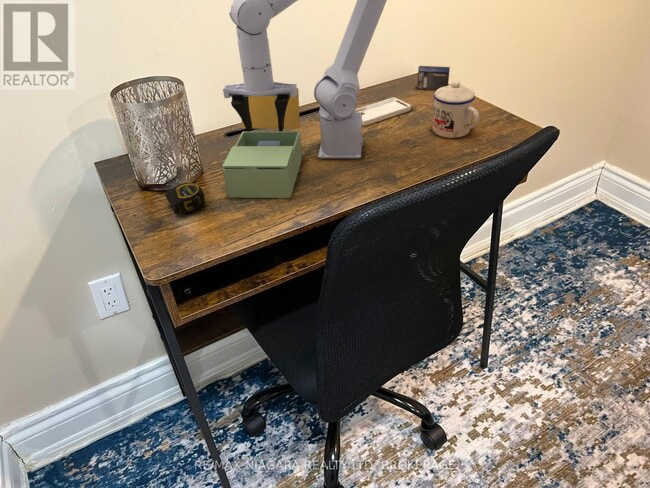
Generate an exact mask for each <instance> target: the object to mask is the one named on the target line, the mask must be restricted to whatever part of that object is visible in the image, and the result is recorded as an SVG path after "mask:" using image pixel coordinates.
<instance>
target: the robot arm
mask: <svg viewBox="0 0 650 488" xmlns="http://www.w3.org/2000/svg"><path fill="white" fill-rule="evenodd" d="M298 1H299V0H233V1H232V4H231V5H230V11H229V17H230V20H231V21H232V22H233V24H235V29H236V36H237V46H238V47H237V48H238V52H239V59H240V66H241V71H242V72H241V73H242V78H243V83H236V84H235V83H234V84H228V85H227V84H226V85H224V86H223V88H222V93H223V98H224V99H230V98H231V101H230V105H231V107H232V108H233V109H234V110H235V112H236V113H237V115H238V116H239V117H240V120H241V122H242V121H243V123H244V125H245V128H246V129H245V131H247V132H250V131H252V129H253V128H252V121H251V116H250V111H249V98H248V97H249V96H277V98H276V100H275V102H274V103H275V107H276V111H277V116H278V128H277V129H278V131H279V132H282V131H284V129H285V128H284V118H285V113H286V108H287V105H288V101H289V98H290V96H291V97H296V95H297V88H298V87H297V86H298V85H297V83H286V82H277V81H274V76H273V75H274V74H273V67H272V59H271V49H270V44H269V43H270V41H269V38H268V28H269V26H270V23H271V20H272V19H274V18H275V17H277V16H278V15H280V14H281V13H282V12H284V11H286V9H288V8H290V7H291V6H293V4H295V3H296V2H298ZM387 1H388V0H356V2H355V4H354V8H353V11H352V12H351V15H350V19H349V21H348V24H347V26H346V28H345V32H344V34H343V36H342V40H341V41H340V45H339V48H338V51H337V53H336V56H335V58H334V61H333V63H332V64H331V65H329V66H328V67H327V68H326V69H325V70H324V72H323V75H322V77H321V78H320V79H319V80H318V81H317V82H316V83H315V85H314V88H313V97H314V99H315V102H317V104H319V110H318V117H319V118H318V119H319V130H320V131H319V132H320V133H319V134H320V147H319V150H318V155H317V157H318V159H362V152H363V151H362V150H363V146H364V137H363V125H362V115H363V113H357V112H358V111H355V109H357V106H358V94H359V91H360V89H361V87H360V82H359V77H358V75H359V72H360V69H361V66H362V64H363V61H364V59H365V56H366V53H367V52H368V49H369V46H370V43H371V41H372V39H373V36H374V34H375V31H376V29H377V26H378V24H379V21H380V18H381V16H382V13H383V11H384V9H385V7H386V4H387Z"/></svg>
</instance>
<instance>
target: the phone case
mask: <svg viewBox="0 0 650 488" xmlns="http://www.w3.org/2000/svg"><path fill="white" fill-rule="evenodd" d="M402 103H403V104H402ZM411 109H412V106H411V104H409V103H407V102H406V101H403V100H401V99H399V98H397V97H389V98H387V99H383V100H380V101H376V102H374V103H370V104H367V105H364V106H362V107H358V108H356V109H355V111H354V112H357V113H362V127H364V126H369V125H372V124H376V123H379V122H380V121H384V120H387V119H390V118H391V117H392V118H393V117H395V116H398V115H402V114H404V113H405V114H406V113H408V112H410V111H411Z"/></svg>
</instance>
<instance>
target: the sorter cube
mask: <svg viewBox="0 0 650 488" xmlns="http://www.w3.org/2000/svg"><path fill="white" fill-rule="evenodd" d="M257 146H281V141H259V142H258V145H257ZM257 169H280V168H257Z"/></svg>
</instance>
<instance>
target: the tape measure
mask: <svg viewBox="0 0 650 488" xmlns="http://www.w3.org/2000/svg"><path fill="white" fill-rule="evenodd" d="M164 196H165V199H166V200H167V202H168V203H169V204H170V205H171V207H172V210H173V214H177V215H178V216H181V215H184V214H186V213H189V212H193V211H195V210H197V209H199V208H200V207H201V206H202V205H204V203H205V193H204V191H203V188H202V187H201V186H200V185H199V184H197V183H195V182H183V183H179V184H178V185H175V186H173V187H172V188H169V189H168V190H166V191H165V195H164Z"/></svg>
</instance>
